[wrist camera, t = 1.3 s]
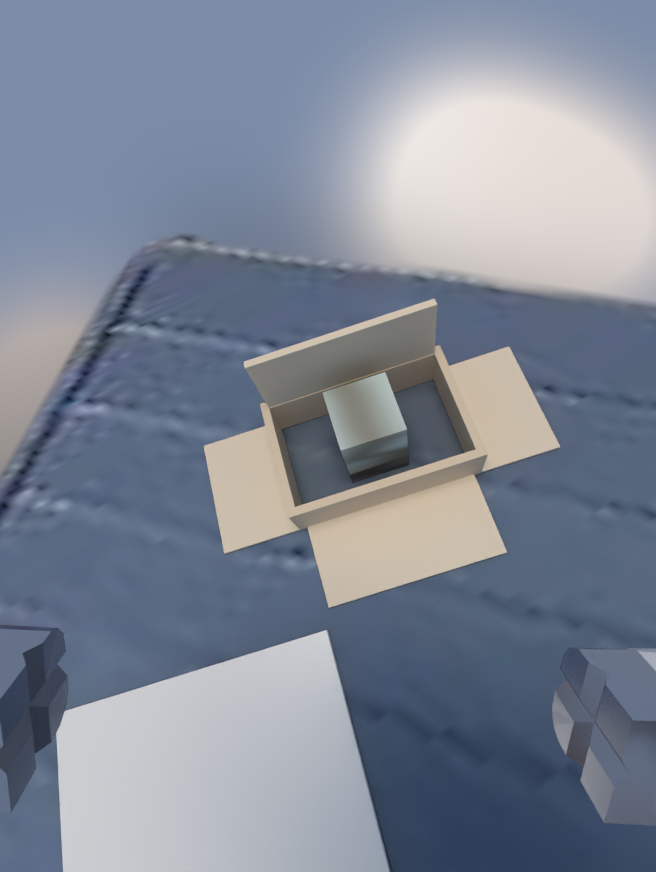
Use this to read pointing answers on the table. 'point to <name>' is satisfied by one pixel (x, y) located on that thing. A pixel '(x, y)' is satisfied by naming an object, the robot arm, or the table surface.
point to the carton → (390, 497)
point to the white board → (221, 772)
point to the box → (368, 427)
